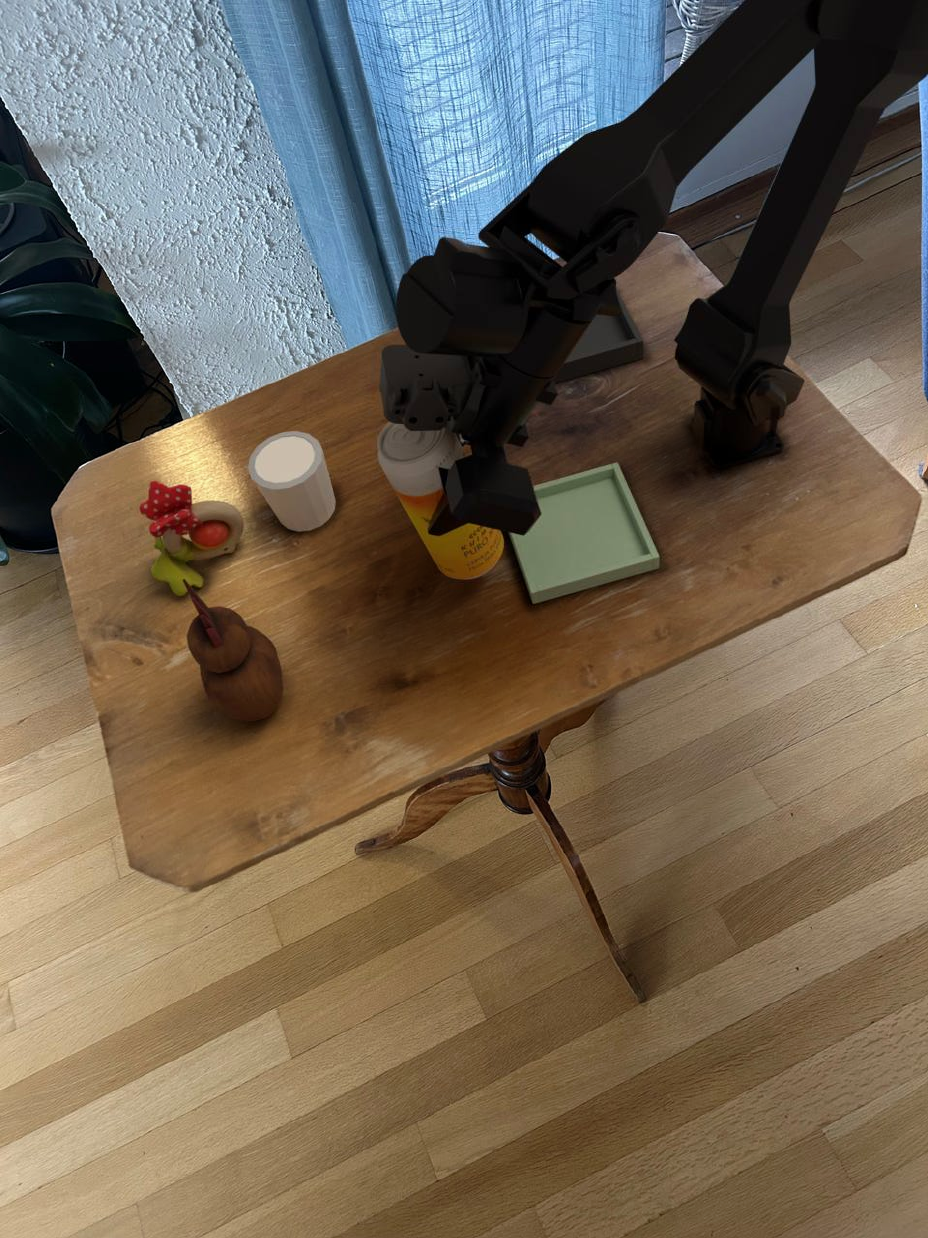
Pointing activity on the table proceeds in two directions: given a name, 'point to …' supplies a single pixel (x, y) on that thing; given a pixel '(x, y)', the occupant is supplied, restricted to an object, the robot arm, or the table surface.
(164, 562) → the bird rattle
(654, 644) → the table surface
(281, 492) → the white cup
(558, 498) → the sage tray
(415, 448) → the beer can
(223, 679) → the wooden figurine
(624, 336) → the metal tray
